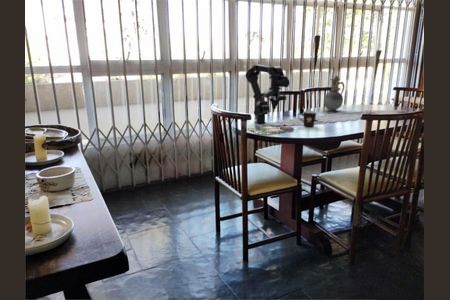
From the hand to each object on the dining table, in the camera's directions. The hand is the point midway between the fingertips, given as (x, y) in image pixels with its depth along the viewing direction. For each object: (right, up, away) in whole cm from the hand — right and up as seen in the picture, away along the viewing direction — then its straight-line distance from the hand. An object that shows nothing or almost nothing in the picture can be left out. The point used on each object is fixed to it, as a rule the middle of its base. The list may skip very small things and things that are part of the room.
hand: (273, 109), depth 220 cm
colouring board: (-7, -15, -9) cm, 19 cm away
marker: (-11, -15, -11) cm, 22 cm away
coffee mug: (+24, -11, +5) cm, 27 cm away
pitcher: (+61, +6, +61) cm, 86 cm away
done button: (+7, -15, -7) cm, 18 cm away
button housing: (+7, -15, -7) cm, 18 cm away
